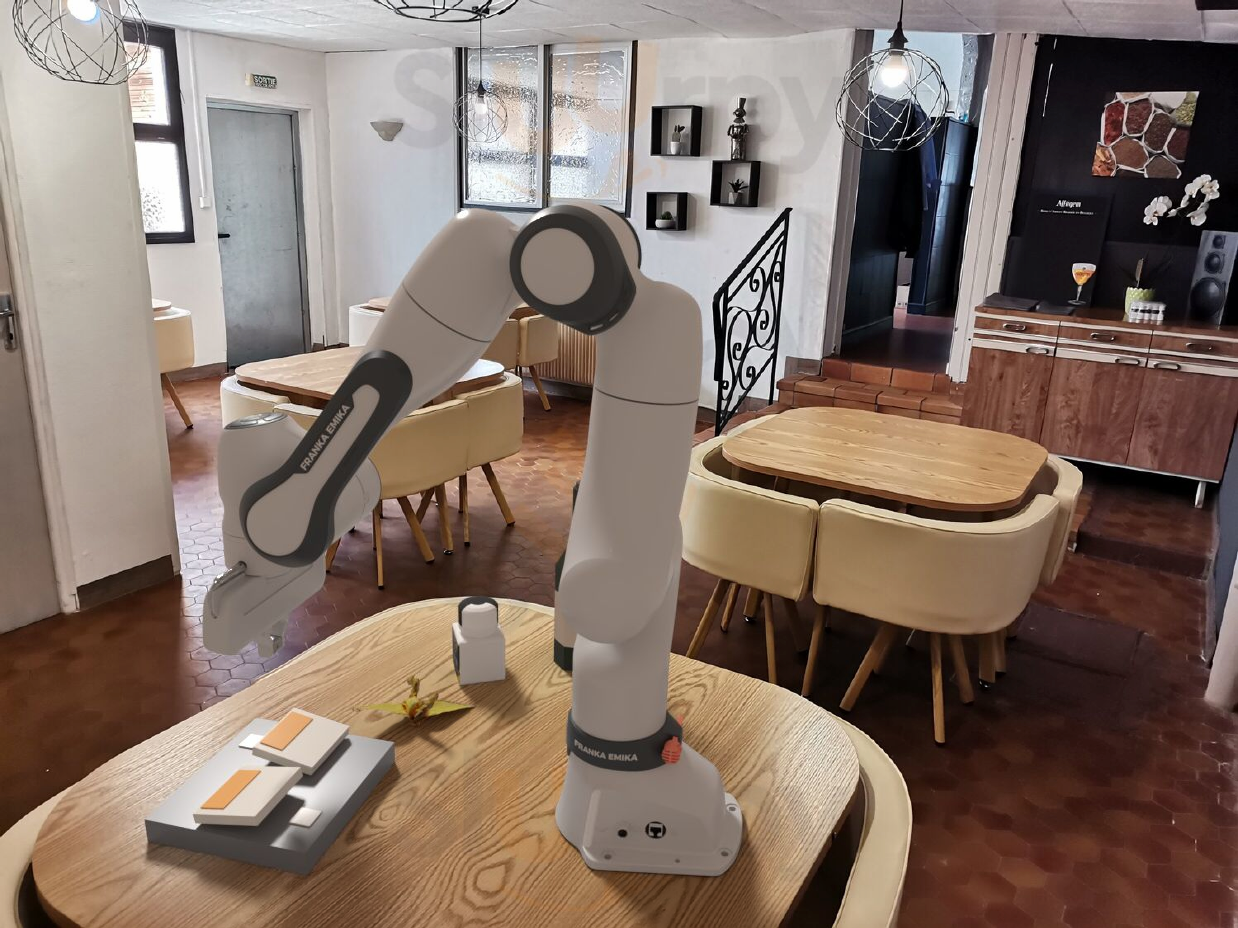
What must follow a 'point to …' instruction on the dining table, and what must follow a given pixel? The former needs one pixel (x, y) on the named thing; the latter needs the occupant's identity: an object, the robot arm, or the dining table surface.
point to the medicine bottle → (478, 642)
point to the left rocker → (248, 795)
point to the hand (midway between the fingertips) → (271, 651)
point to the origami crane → (417, 704)
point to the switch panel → (294, 823)
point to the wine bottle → (562, 630)
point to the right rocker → (301, 740)
